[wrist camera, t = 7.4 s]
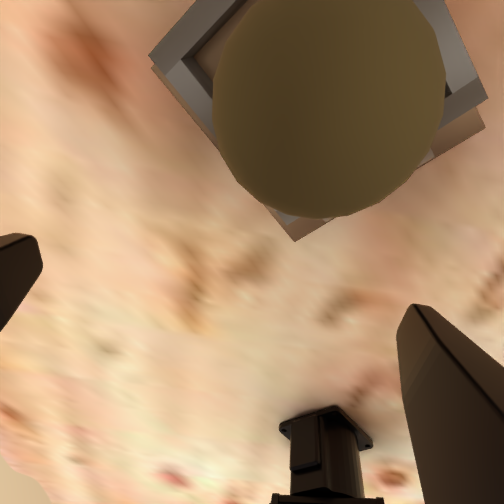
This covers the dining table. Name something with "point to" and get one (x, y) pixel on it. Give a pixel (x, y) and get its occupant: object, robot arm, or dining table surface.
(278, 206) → the olive tall rounded piece
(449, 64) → the frame
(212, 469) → the dining table surface
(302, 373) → the dining table surface
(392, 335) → the dining table surface
